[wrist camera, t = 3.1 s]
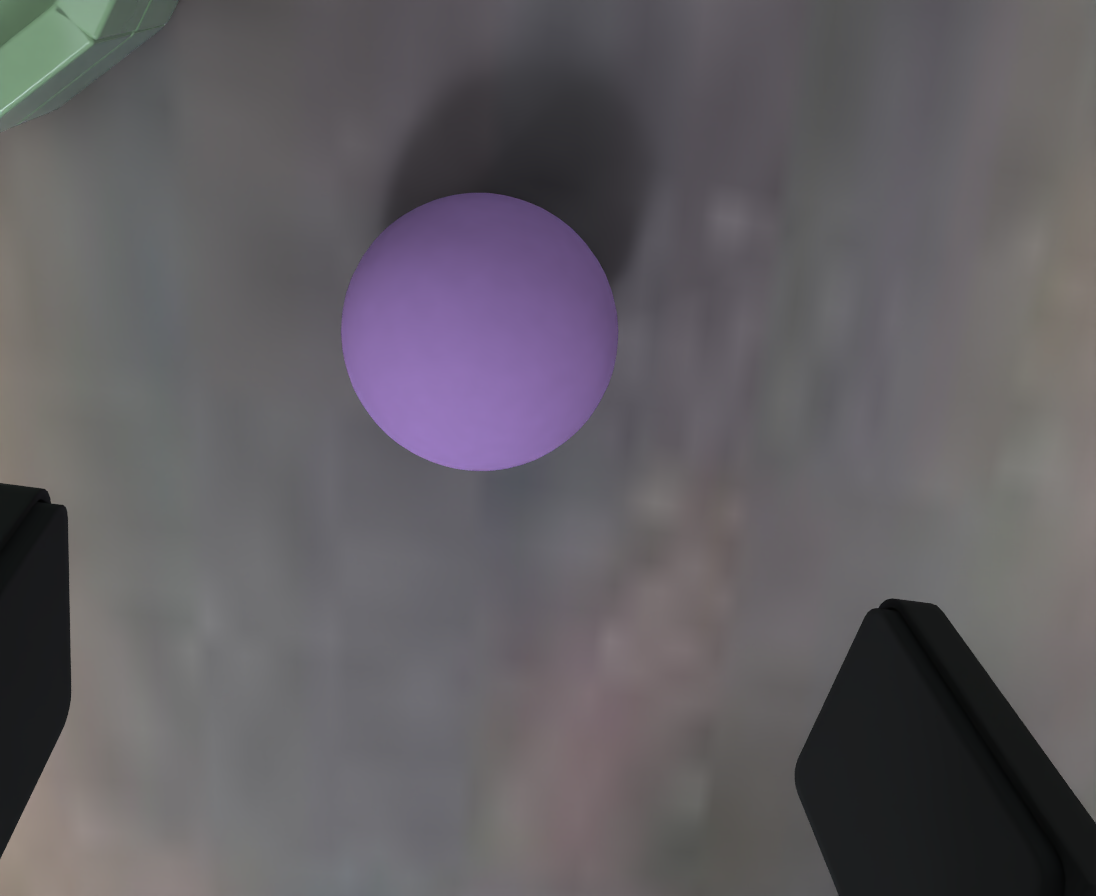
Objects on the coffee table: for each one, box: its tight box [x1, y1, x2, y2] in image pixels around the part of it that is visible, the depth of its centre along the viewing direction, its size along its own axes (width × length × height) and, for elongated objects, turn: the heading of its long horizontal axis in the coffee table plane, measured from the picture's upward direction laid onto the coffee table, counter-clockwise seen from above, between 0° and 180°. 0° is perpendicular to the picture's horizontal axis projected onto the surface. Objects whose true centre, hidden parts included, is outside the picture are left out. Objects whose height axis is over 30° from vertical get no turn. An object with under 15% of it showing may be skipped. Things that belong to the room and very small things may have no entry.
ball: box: [341, 193, 618, 471], centre depth 21 cm, size 6×6×6 cm
